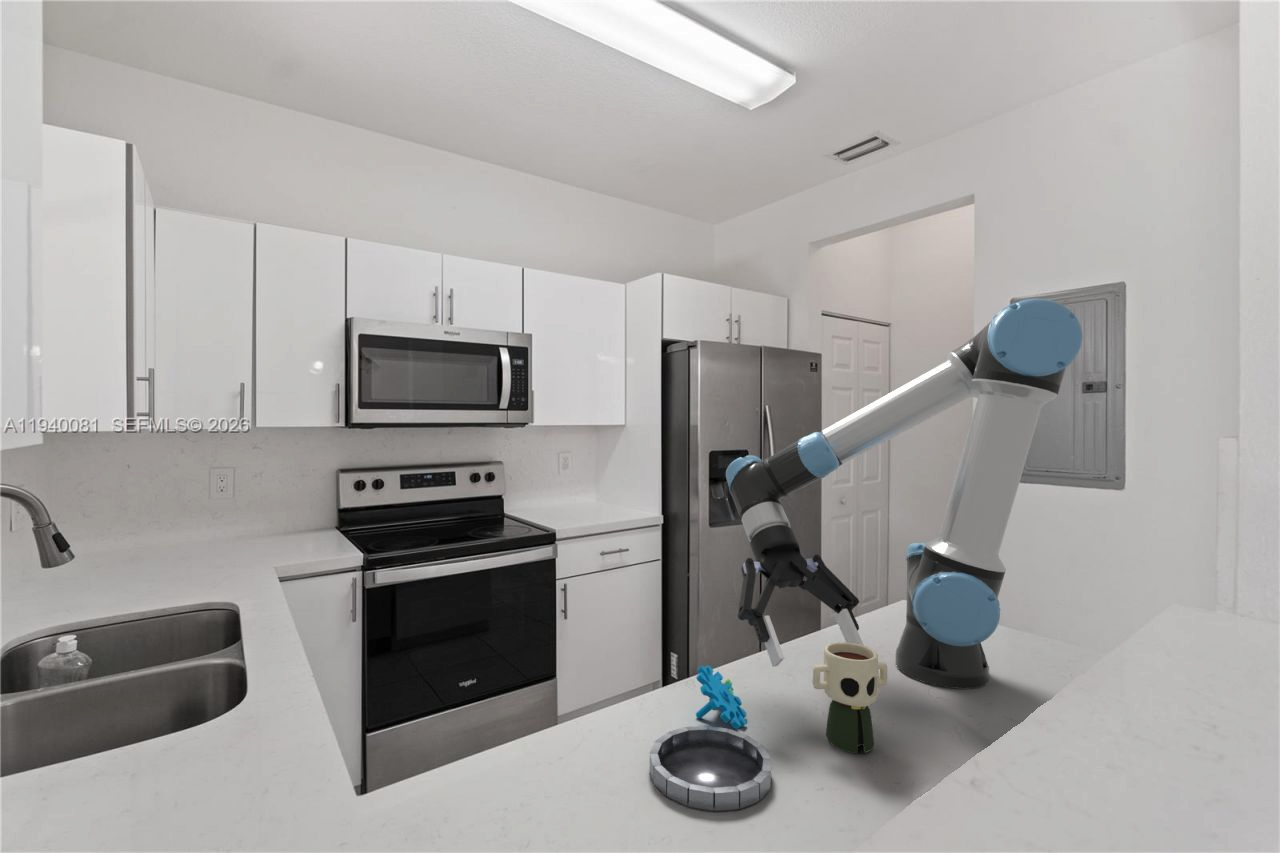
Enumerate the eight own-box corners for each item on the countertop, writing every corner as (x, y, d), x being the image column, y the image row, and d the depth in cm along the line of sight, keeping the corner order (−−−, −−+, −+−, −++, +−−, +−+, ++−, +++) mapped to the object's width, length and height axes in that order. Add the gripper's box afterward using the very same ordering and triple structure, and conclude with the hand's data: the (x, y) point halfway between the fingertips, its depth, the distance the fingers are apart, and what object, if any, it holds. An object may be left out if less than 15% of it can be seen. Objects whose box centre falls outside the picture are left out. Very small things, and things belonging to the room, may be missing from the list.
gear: (741, 732, 82) (695, 670, 85) (710, 758, 83) (666, 695, 86) (757, 709, 92) (715, 654, 95) (729, 732, 93) (688, 677, 96)
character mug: (823, 761, 78) (825, 662, 78) (801, 734, 85) (802, 643, 85) (900, 756, 79) (902, 659, 79) (872, 729, 86) (873, 640, 86)
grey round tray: (748, 739, 83) (748, 723, 83) (789, 806, 68) (790, 787, 68) (642, 745, 81) (642, 729, 81) (661, 816, 66) (661, 797, 66)
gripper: (824, 544, 107) (878, 660, 93) (695, 551, 100) (733, 677, 85) (843, 520, 102) (903, 638, 88) (709, 524, 94) (752, 654, 80)
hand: (820, 658), depth 86 cm, fingers open, 13 cm apart
